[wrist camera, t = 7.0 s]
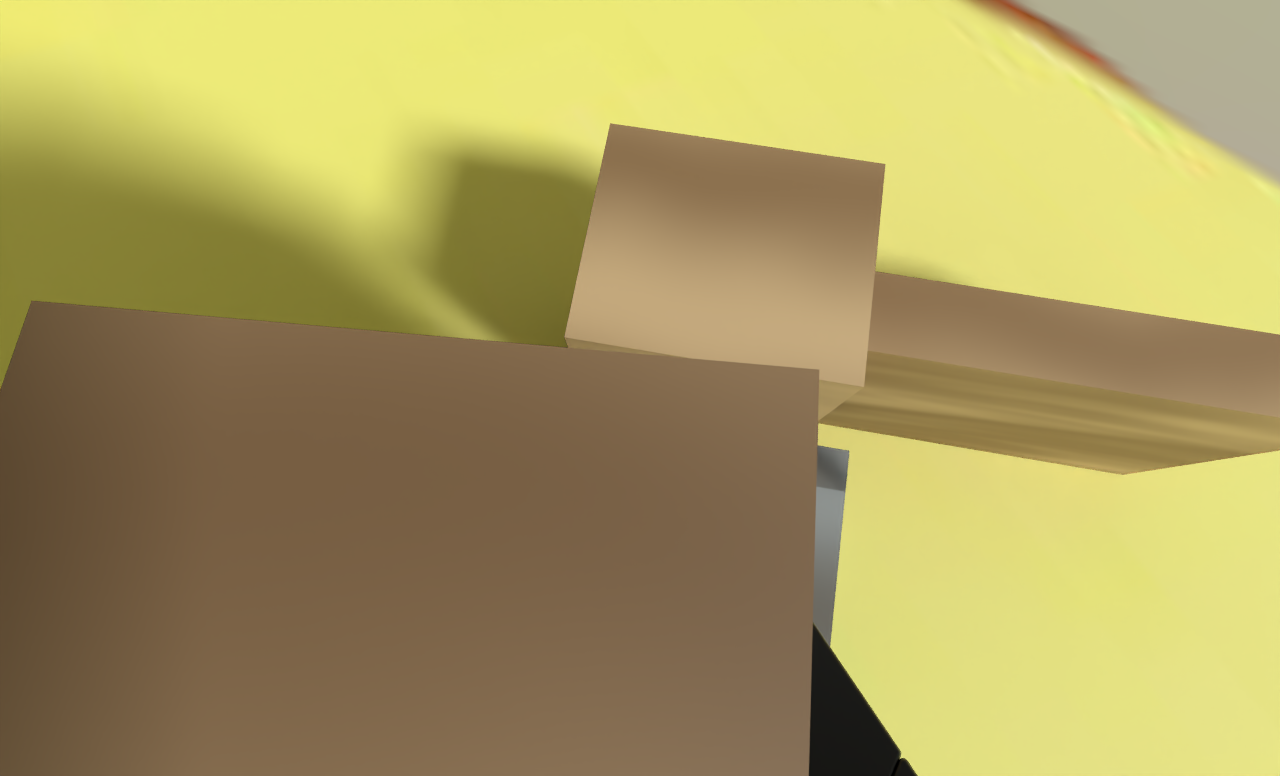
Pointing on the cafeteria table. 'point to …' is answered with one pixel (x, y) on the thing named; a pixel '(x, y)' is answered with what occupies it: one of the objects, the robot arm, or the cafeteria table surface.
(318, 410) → the wooden block
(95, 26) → the cafeteria table surface
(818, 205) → the wooden fixture with frame
